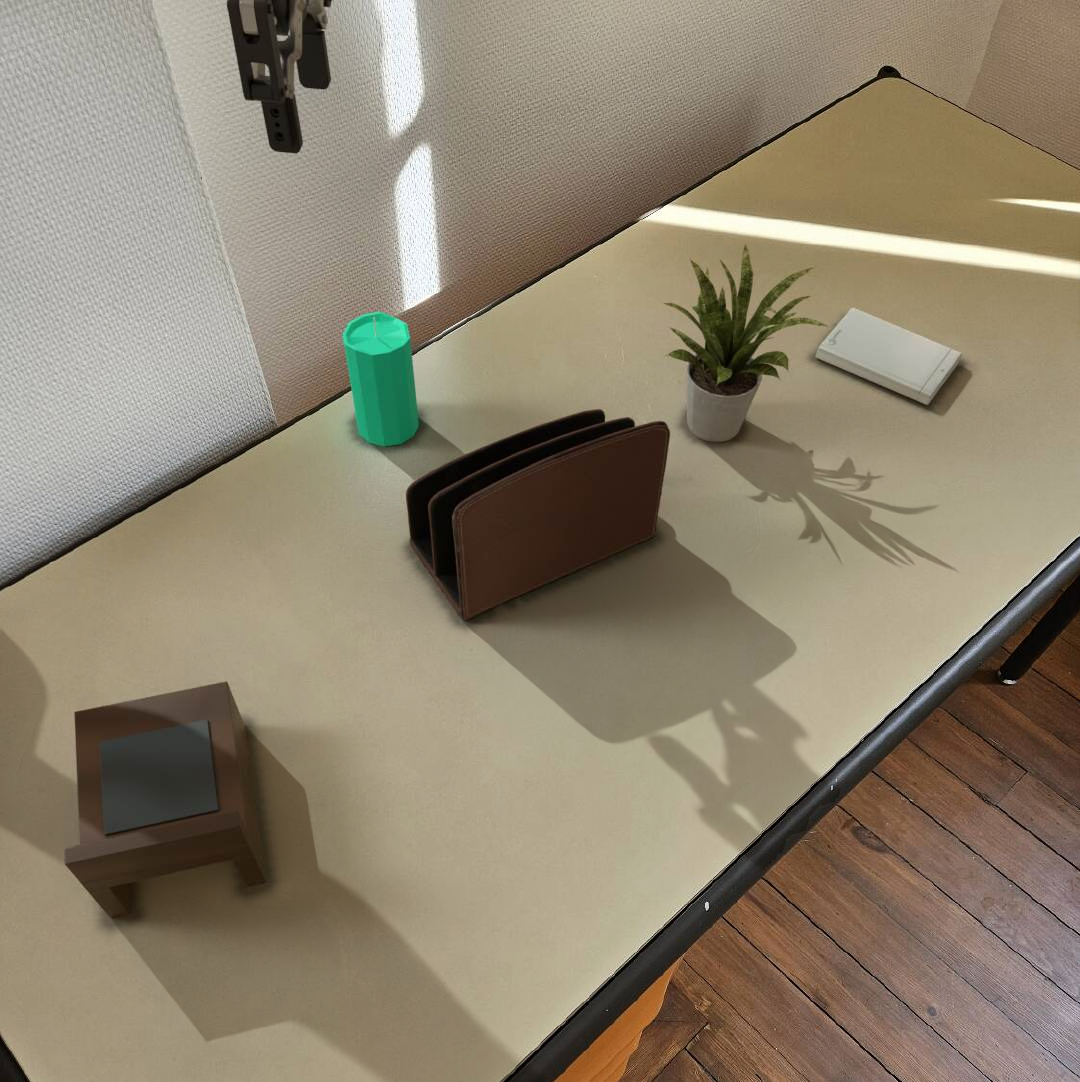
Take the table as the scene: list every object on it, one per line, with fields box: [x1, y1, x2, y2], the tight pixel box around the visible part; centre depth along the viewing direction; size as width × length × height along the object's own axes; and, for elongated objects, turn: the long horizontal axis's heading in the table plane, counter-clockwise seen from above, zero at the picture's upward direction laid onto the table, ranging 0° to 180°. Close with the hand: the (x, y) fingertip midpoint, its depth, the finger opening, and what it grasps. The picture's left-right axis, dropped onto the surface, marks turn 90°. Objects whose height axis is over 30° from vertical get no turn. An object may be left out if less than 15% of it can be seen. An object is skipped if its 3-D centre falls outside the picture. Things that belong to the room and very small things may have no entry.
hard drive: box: [815, 307, 963, 406], centre depth 108 cm, size 2×8×12 cm
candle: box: [342, 311, 420, 447], centre depth 97 cm, size 6×6×12 cm
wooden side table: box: [63, 680, 267, 919], centre depth 75 cm, size 14×11×9 cm
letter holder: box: [405, 408, 671, 621], centre depth 89 cm, size 10×20×14 cm, turn 121°
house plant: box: [663, 243, 829, 443], centre depth 97 cm, size 14×14×16 cm
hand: (302, 117), depth 76 cm, fingers open, 8 cm apart
